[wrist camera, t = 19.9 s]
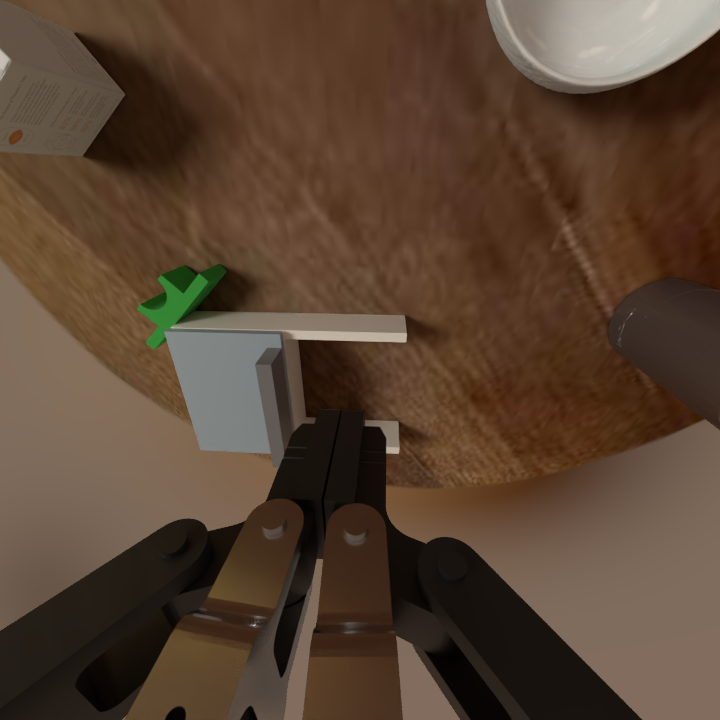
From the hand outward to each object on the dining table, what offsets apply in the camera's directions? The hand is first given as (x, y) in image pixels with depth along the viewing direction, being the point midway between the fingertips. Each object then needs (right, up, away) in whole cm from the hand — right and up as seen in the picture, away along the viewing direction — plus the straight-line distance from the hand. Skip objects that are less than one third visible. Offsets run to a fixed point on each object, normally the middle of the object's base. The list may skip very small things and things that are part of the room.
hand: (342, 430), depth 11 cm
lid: (-13, -2, +27) cm, 30 cm away
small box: (-25, +26, +19) cm, 41 cm away
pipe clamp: (-19, +10, +27) cm, 35 cm away
